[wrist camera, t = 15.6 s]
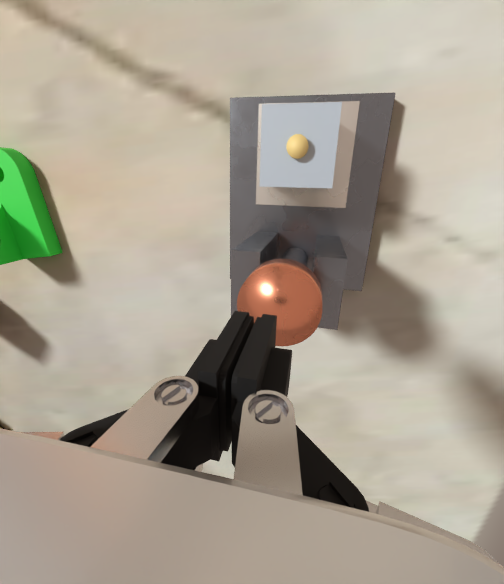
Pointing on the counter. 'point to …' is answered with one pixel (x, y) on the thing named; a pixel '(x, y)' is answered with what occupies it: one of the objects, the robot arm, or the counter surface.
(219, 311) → the counter surface
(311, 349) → the counter surface
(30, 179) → the mechanical part
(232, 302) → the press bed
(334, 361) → the counter surface
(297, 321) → the ram
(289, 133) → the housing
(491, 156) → the counter surface
